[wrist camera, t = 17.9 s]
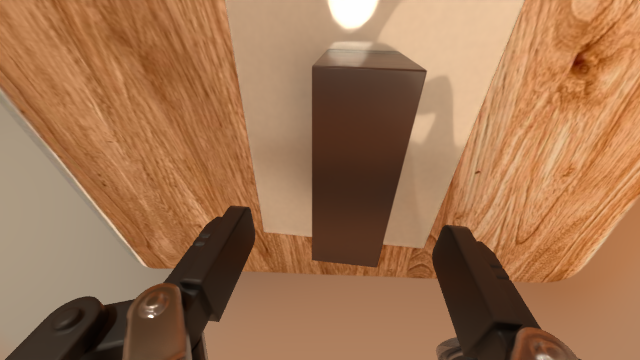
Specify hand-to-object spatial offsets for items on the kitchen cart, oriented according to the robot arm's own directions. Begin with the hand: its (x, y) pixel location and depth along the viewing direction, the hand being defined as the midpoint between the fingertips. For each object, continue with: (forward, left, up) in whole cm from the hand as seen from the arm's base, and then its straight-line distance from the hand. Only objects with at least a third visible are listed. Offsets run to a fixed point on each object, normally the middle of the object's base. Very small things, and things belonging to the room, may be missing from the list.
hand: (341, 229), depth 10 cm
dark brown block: (+1, 0, -8) cm, 8 cm away
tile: (0, 0, -9) cm, 9 cm away
